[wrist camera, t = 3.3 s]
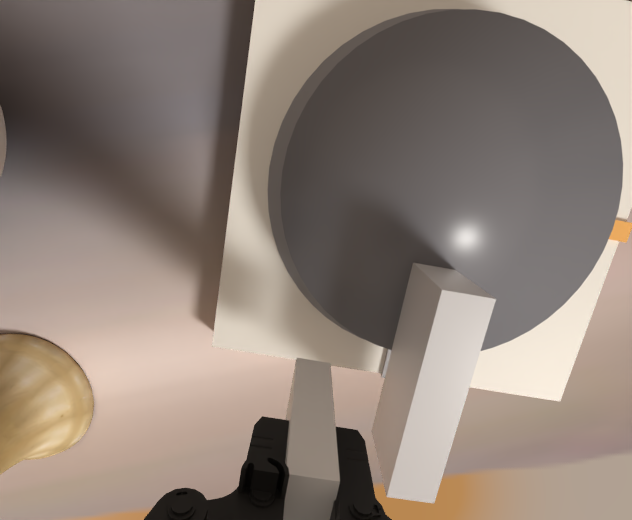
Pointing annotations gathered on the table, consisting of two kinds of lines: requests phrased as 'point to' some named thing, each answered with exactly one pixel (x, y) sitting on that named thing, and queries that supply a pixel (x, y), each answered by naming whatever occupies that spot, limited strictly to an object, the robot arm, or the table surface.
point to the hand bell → (40, 400)
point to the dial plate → (269, 155)
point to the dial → (448, 208)
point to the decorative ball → (2, 142)
